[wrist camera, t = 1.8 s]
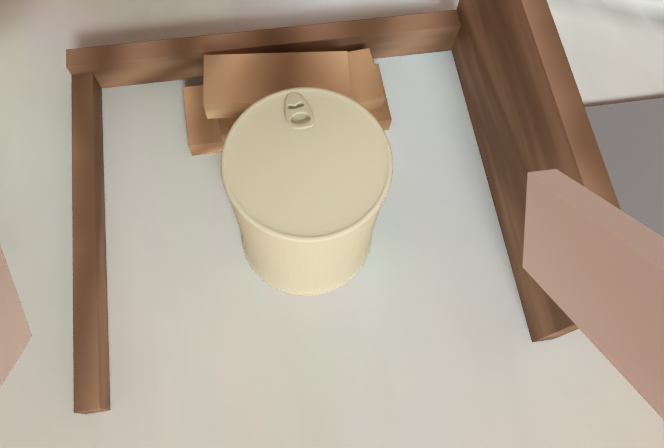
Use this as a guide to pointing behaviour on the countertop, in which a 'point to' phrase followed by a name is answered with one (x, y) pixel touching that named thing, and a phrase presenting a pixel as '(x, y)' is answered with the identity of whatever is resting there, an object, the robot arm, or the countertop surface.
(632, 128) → the mat
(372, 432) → the countertop surface
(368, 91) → the offcut stack
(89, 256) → the rack
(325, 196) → the can
